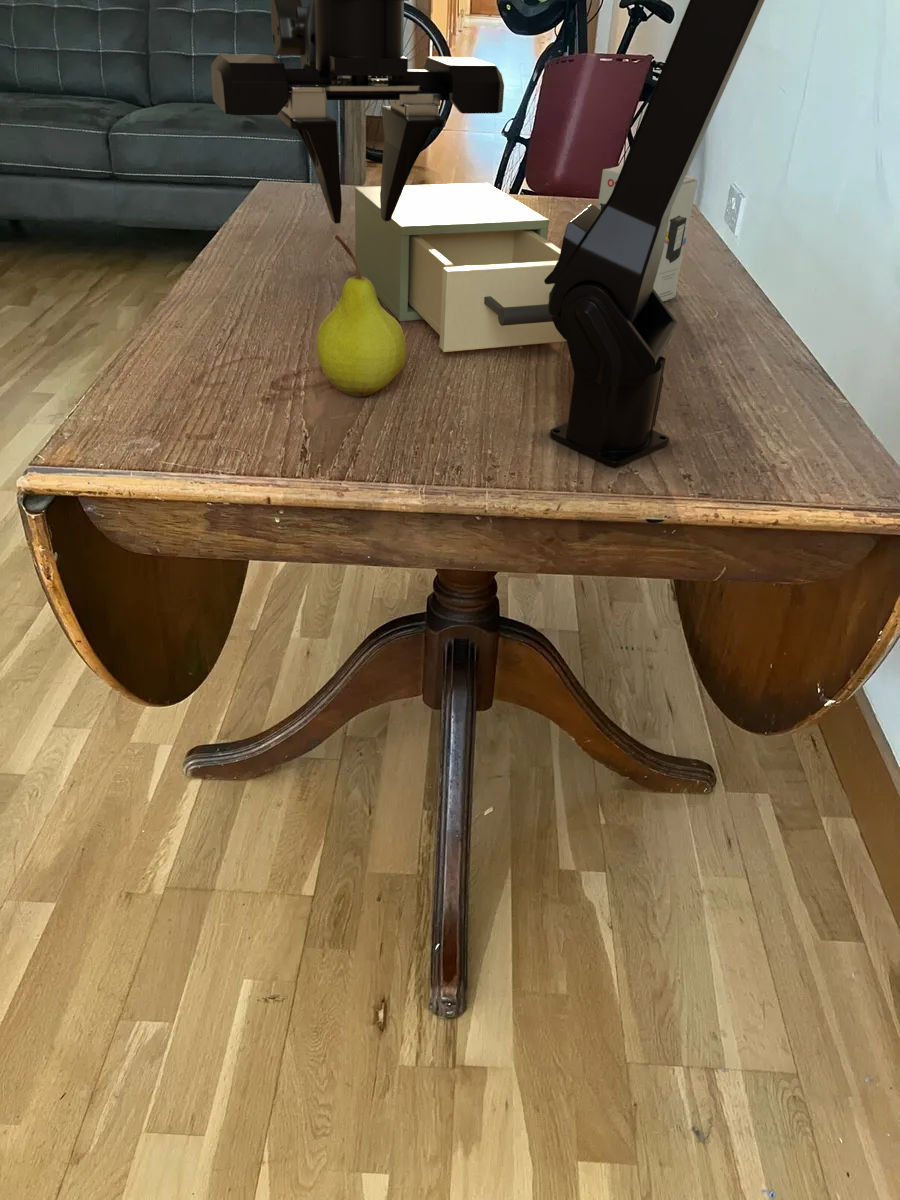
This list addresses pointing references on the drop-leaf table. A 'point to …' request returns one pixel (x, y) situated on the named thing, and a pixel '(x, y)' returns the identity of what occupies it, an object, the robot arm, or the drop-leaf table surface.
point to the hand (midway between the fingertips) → (361, 221)
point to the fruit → (360, 340)
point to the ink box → (674, 235)
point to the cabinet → (427, 229)
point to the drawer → (483, 287)
